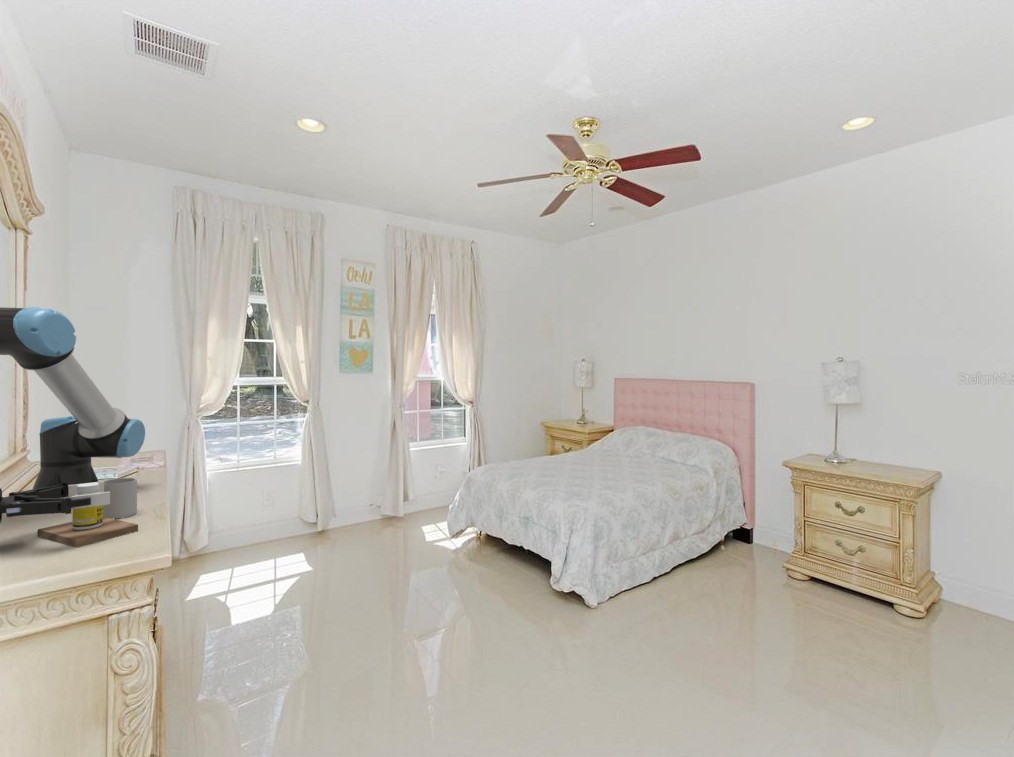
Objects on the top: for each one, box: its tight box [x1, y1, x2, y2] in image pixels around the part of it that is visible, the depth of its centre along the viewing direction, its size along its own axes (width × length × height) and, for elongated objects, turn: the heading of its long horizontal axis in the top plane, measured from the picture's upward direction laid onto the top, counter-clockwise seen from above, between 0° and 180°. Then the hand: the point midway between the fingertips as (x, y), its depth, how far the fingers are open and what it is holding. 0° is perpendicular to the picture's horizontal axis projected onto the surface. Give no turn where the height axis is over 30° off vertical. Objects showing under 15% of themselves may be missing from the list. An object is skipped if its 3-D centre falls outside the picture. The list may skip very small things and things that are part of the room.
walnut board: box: [37, 517, 139, 548], centre depth 115 cm, size 16×12×2 cm
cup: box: [103, 477, 138, 519], centre depth 130 cm, size 7×10×9 cm
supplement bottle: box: [71, 483, 103, 530], centre depth 115 cm, size 5×5×10 cm
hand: (107, 492), depth 117 cm, fingers open, 13 cm apart
